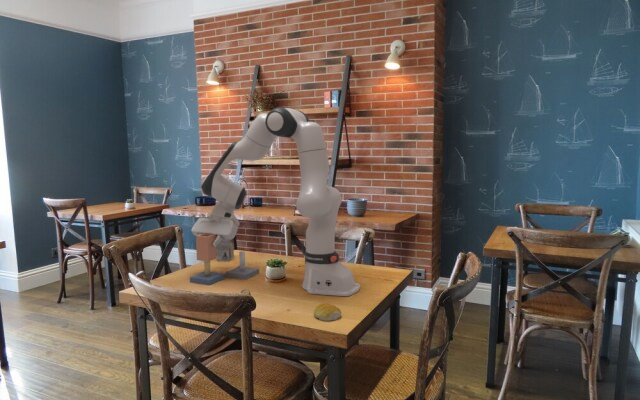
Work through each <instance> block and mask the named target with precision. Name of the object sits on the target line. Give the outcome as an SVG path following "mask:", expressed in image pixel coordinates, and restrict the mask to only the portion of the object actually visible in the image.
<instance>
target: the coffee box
mask: <svg viewBox="0 0 640 400" xmlns="http://www.w3.org/2000/svg"><path fill="white" fill-rule="evenodd" d="M216 239H217V238H216ZM234 247H235V245H234V238H233V239H232V240H229V239H222V241H220V242H219V243H218V244H217V245H216V253H217V258H216V261H217V262H230V261H232V259H233V258H234V257H235V251H234V250H235V249H234Z"/></svg>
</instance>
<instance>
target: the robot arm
mask: <svg viewBox="0 0 640 400" xmlns="http://www.w3.org/2000/svg"><path fill="white" fill-rule="evenodd" d="M277 137H281V138H288V139H289V138H292V139H293V141H295V144H296V148H297V156H298V163H299V170H300V185H299V195H298V197H297V199H296V203H295V205H296V210H297V212H298V214H299V215H301V216H302V217H304V218H308V219H309V223H308V226H307V228H306V231H305V251H304V264H305V270H304V271H305V273H304V278H303V281H302V284H301V286H302V289H304V291H306V292H307V293H308V294H310V295H323V296H324V295H325V296H335V297H338V296H339V297H350V296H353V295H355V294H356V293H357V292H359V290H360V289H361V285H360V283H357V282H355V277H354V273H353V271H352V269H351V270H350V269H349V268H348V267H347V266H346V265H345V264H343V263H342V262H341V261H340V257H341V253H340V252H339V253H337V251H336V250H335V238H336V237H335V233H336V226H337V220H338V214H339V208H340V206H341V204H342V202H343V201H342V199H343V198H342V194H341V192H340V191H339V189H337V188H335V187H334V186H329V185H328V175H329V173H330V161H329V156H328V150H327V144H326V138H325V135H324V133H323V130H322V127H321V125H320V124H319V123H318V122H315V121H310V119H309V116H308V115H306V113H304V112H303V111H301V110H298V109H293V108H289V107H280V106H279V107H275V108H273V109H271V110H270V111H269V112H268V113H266V112H265V113H263V112H262V113H259V114H258V115H257V116H256V117H255V118H254V119H253V121H252V122H251V124H250V126H249V127H248V130H247V131H246V134H245V135H244V137H243V138H242V139H241V140H239V141H233V142H232V143H231V144H230V145H229V147H228V148H227V149H226V151H224V153H223V155H222V156H220V159H219V160H218V161H217V163H216V164H215V165H214V166H213V168H212V170H211V171H210V172H209V173H208V174H207V175H206V176H205V177H204V178H203V179H202V182H201V185H200V189H201V190H202V193H203V194H204V195H205V196H206V197H209V198H213V199H215V200H217V201H216V202H217V203H216V204H215V205H214V207H213V209H212V210H211V211H210V214H209V216H202V217H199V218H198V219H197V220H196V222H194V224H193V226H192V228H191V230H190V231H191V233H192V234H193V236H195V237H196V236H197V235H201V234H213V235H216V238H217V239H216V240H215V241H212V243H211V246H212V247H216V248H217V244H218V243H219V242H220V241H222V239H229V240H232V239H233V240H234V238H235V236H236V235H237V232H238V230H239V226H240V222H239V220H238V218H237V216H235V215H234V213H235V211H236V210H238V209H241V208H242V206H243V203H244V201H245V199H246V198H247V195H248V194H247V190H246V188H245V187H244V186H243V185H242V184H239V183H238V182H235V181H232V180H230V179H228V178H226V177H224V176H223V175H222V173H223V172H224V171H225V170H226V168H227V167H228V166H229V164H230V162H232V161H235V160H236V161H237V160H241V161H260V160H262V159H264V158H265V157H266V155H267V154H268V153H269V151H270V149H271V147H272V146H273V143H274V141H275V140H276V139H277Z"/></svg>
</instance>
